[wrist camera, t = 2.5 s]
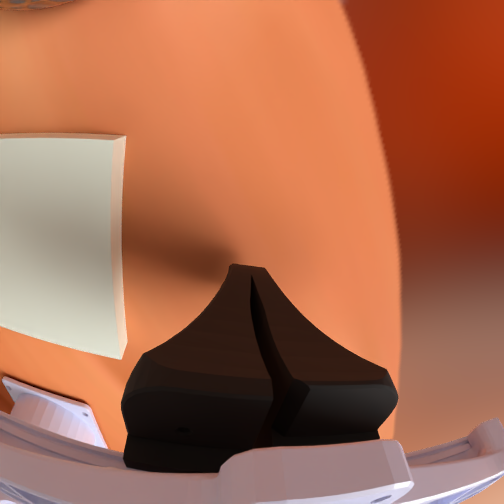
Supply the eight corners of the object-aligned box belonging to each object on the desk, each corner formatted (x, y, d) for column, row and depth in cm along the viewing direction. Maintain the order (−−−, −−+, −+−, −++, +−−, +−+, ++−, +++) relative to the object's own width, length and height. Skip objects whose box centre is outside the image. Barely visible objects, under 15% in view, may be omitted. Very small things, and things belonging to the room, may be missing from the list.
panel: (129, 335, 15) (121, 359, 13) (0, 302, 14) (-15, 320, 12) (131, 133, 10) (113, 140, 9) (-26, 134, 9) (-50, 142, 8)
